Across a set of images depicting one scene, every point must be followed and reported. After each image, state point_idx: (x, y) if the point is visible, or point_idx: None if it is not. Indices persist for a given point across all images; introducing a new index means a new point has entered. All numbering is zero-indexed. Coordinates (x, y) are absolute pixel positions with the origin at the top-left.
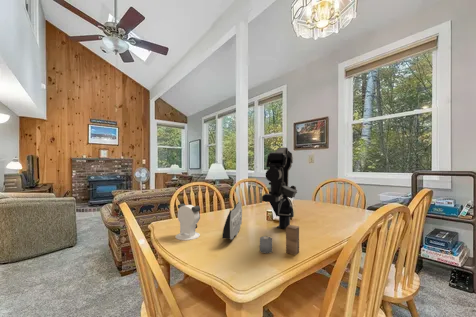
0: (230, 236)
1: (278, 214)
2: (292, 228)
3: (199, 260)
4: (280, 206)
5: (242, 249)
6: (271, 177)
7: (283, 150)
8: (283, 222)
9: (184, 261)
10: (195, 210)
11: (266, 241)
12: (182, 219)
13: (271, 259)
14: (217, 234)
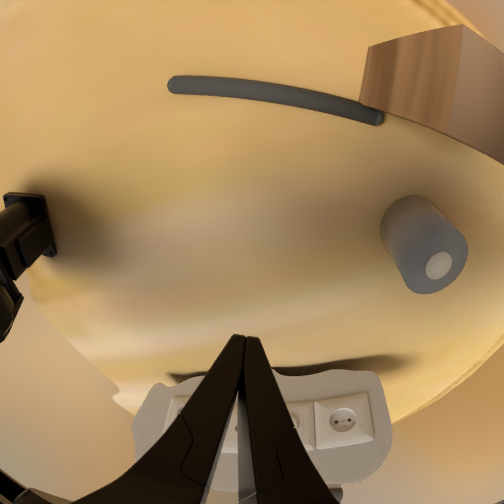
0: (380, 381)
1: (237, 336)
2: None
3: (467, 357)
4: (189, 430)
5: (405, 311)
6: None
7: None
8: (29, 239)
9: (466, 371)
10: (341, 492)
11: (464, 249)
12: None
13: (483, 186)
14: None
